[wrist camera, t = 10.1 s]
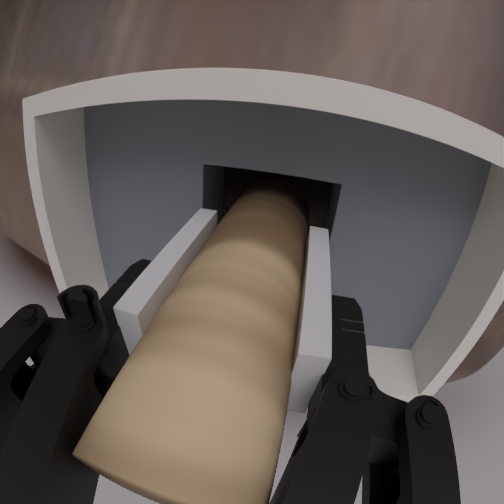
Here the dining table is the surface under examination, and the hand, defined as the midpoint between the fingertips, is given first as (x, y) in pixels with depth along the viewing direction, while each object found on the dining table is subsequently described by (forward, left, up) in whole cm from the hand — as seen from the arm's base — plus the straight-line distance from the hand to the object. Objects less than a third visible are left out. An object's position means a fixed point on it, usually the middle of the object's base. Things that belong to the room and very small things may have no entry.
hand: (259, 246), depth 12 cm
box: (0, 0, -5) cm, 5 cm away
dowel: (0, 0, -4) cm, 4 cm away
